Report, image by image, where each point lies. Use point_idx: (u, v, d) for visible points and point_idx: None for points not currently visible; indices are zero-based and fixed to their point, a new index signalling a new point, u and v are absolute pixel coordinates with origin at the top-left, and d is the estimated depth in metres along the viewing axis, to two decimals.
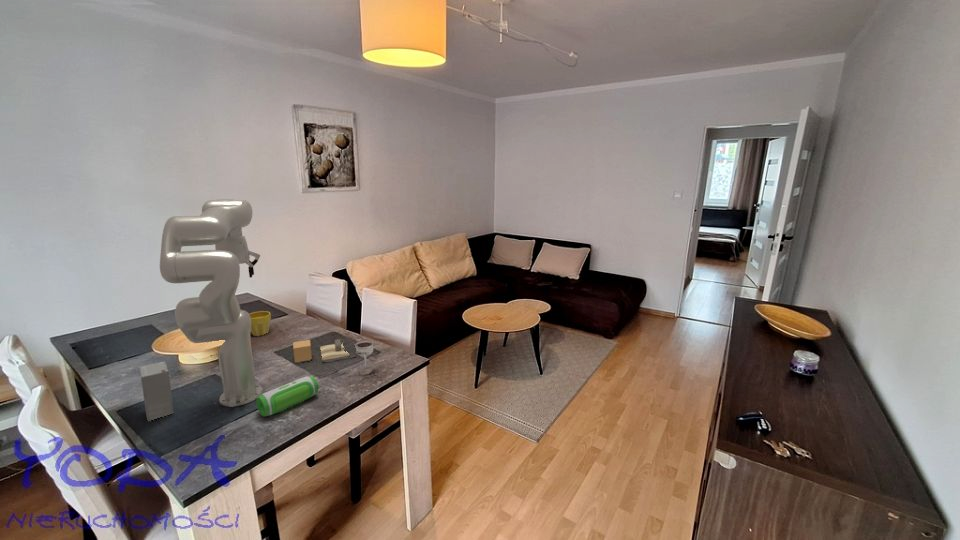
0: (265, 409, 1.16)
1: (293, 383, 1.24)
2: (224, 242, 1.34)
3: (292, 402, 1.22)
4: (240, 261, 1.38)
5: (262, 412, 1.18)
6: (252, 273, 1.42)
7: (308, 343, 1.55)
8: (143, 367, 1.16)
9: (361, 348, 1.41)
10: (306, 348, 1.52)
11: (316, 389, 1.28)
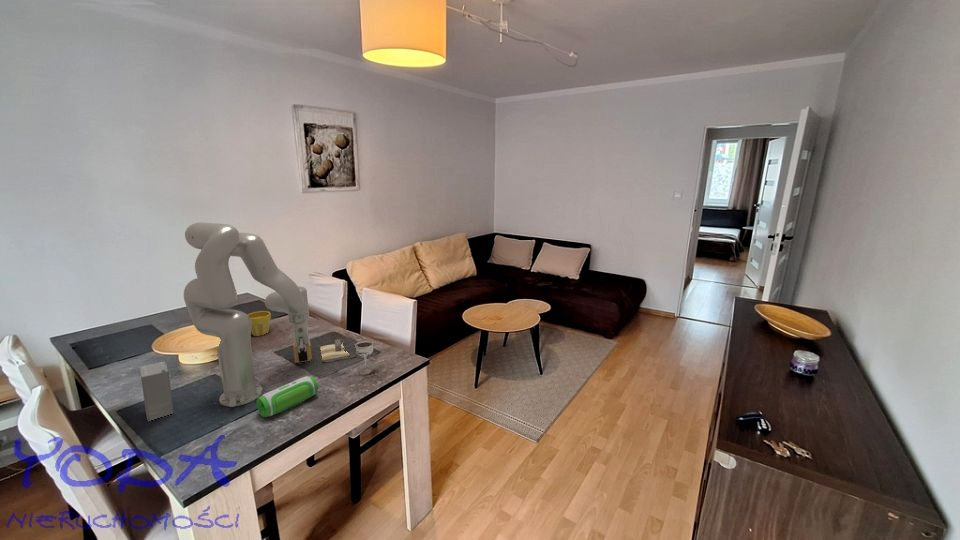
0: (266, 410, 1.15)
1: (293, 383, 1.24)
2: (307, 324, 1.52)
3: (293, 402, 1.22)
4: None
5: (263, 413, 1.18)
6: None
7: None
8: (143, 367, 1.16)
9: (361, 348, 1.41)
10: (306, 348, 1.52)
11: (316, 389, 1.28)
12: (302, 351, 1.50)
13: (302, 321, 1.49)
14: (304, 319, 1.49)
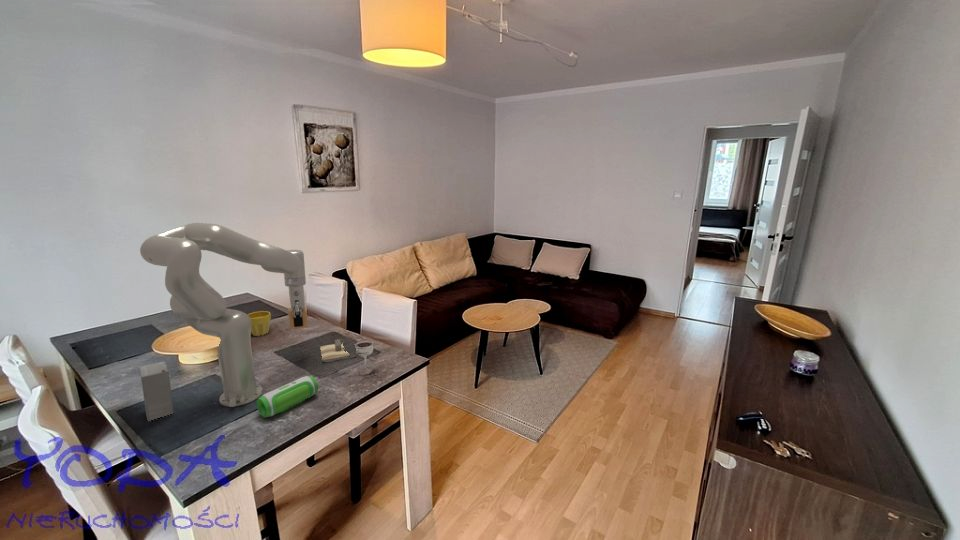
0: (267, 410, 1.15)
1: (293, 383, 1.24)
2: (303, 288, 1.48)
3: (293, 402, 1.22)
4: None
5: (263, 413, 1.18)
6: None
7: (304, 309, 1.51)
8: (143, 367, 1.16)
9: (361, 348, 1.41)
10: (302, 313, 1.48)
11: (316, 388, 1.28)
12: (297, 315, 1.45)
13: (298, 284, 1.45)
14: (300, 282, 1.46)
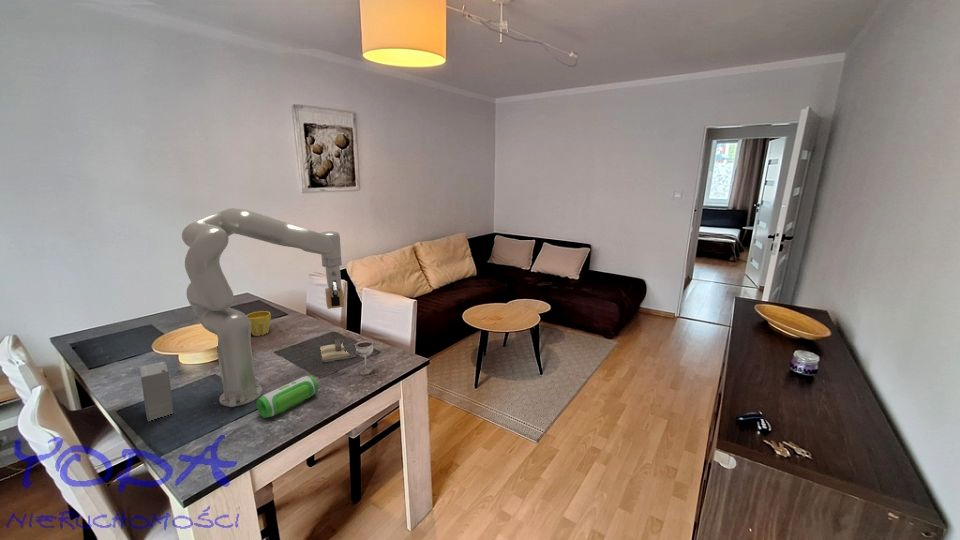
0: (267, 410, 1.15)
1: (293, 383, 1.24)
2: None
3: (293, 402, 1.22)
4: None
5: (263, 414, 1.17)
6: None
7: None
8: (143, 367, 1.16)
9: (361, 348, 1.41)
10: (339, 293, 1.53)
11: (316, 388, 1.29)
12: (335, 295, 1.50)
13: (335, 265, 1.50)
14: (337, 263, 1.50)
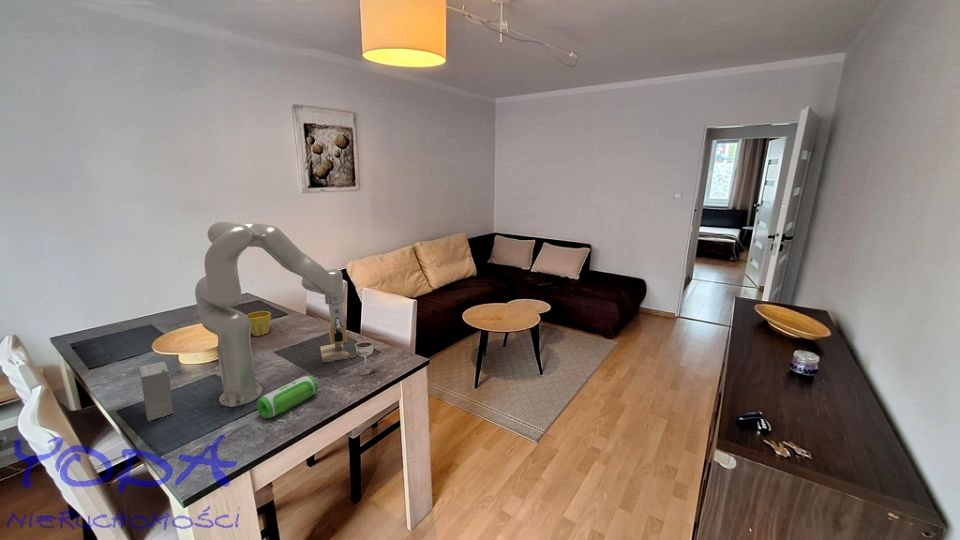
0: (268, 410, 1.15)
1: (293, 383, 1.24)
2: (342, 306, 1.56)
3: (293, 402, 1.22)
4: None
5: (264, 414, 1.17)
6: None
7: None
8: (143, 367, 1.16)
9: (361, 348, 1.41)
10: None
11: (315, 388, 1.29)
12: (338, 331, 1.54)
13: (338, 302, 1.53)
14: (340, 300, 1.54)
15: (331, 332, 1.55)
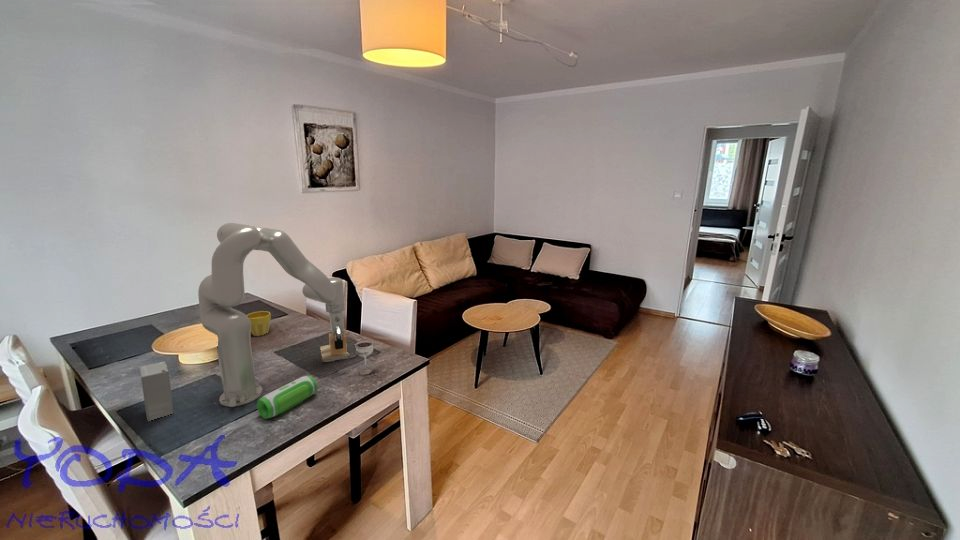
0: (269, 411, 1.15)
1: (292, 383, 1.24)
2: None
3: (294, 402, 1.22)
4: None
5: (264, 414, 1.17)
6: None
7: (343, 334, 1.60)
8: (143, 367, 1.16)
9: (361, 348, 1.41)
10: None
11: (315, 388, 1.29)
12: (339, 339, 1.54)
13: (339, 311, 1.54)
14: (340, 309, 1.55)
15: (331, 342, 1.56)
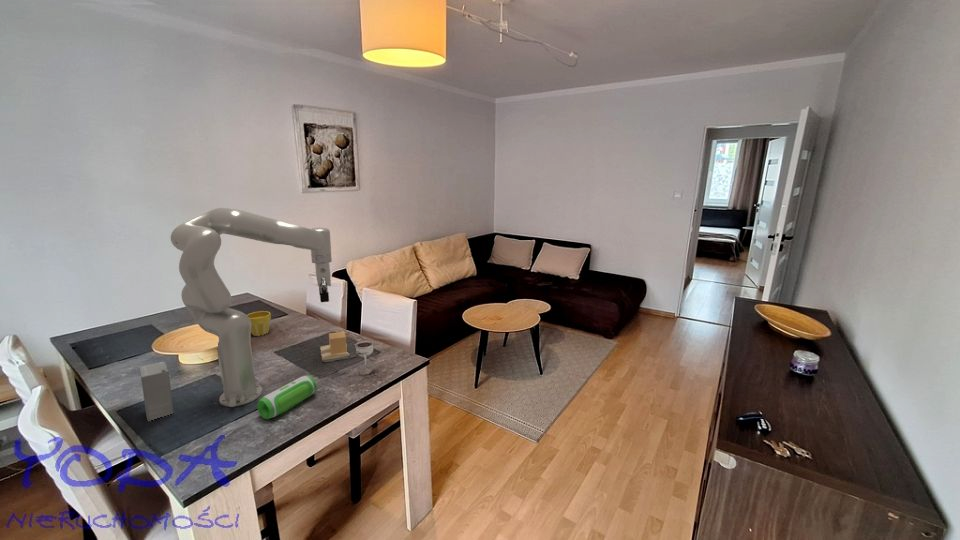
0: (270, 411, 1.15)
1: (292, 383, 1.24)
2: (329, 266, 1.51)
3: (294, 402, 1.22)
4: None
5: (265, 415, 1.17)
6: None
7: (343, 334, 1.60)
8: (143, 367, 1.16)
9: (361, 348, 1.41)
10: (342, 339, 1.58)
11: (315, 387, 1.29)
12: (324, 291, 1.48)
13: (325, 261, 1.49)
14: (327, 260, 1.49)
15: (331, 342, 1.56)
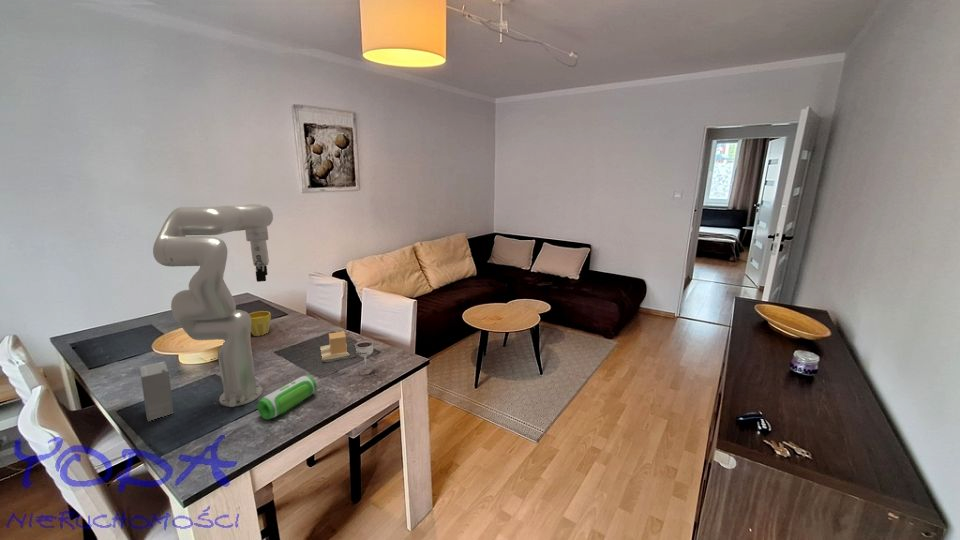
0: (271, 411, 1.15)
1: (292, 383, 1.24)
2: (265, 244, 1.46)
3: (294, 402, 1.22)
4: (268, 260, 1.52)
5: (265, 415, 1.17)
6: None
7: (343, 334, 1.60)
8: (143, 367, 1.16)
9: (361, 348, 1.41)
10: (342, 339, 1.58)
11: (315, 387, 1.29)
12: (259, 269, 1.43)
13: (260, 239, 1.44)
14: (262, 237, 1.44)
15: (331, 342, 1.56)
